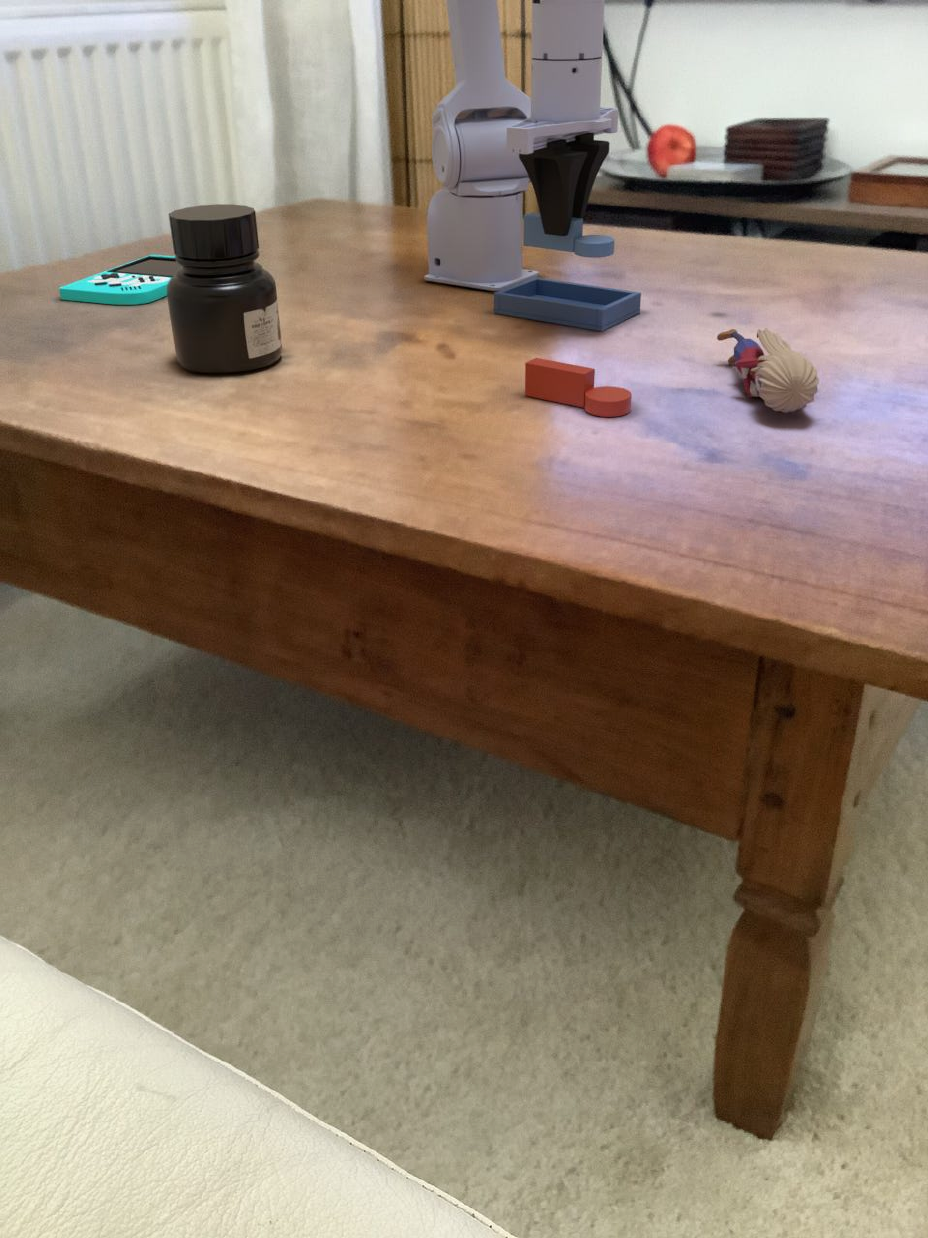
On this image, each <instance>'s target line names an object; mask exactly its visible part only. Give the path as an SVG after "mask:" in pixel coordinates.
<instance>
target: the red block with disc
mask: <svg viewBox="0 0 928 1238" xmlns="http://www.w3.org/2000/svg"><path fill="white" fill-rule="evenodd" d="M595 372H596V369H595V368H593V367H587V366H583V365H577V364H571V363H566V362H561V361H555V360H551V359H545V358H541V357H534V358H531V359H529V360H527V361H525V363H524V396H526V397H530V398H535V399H540V400H545V401H548V402H549V401H550V402H554V403H558V404H564V405H568V406H573V407H578V408H583V409H584V411H585V412H586V413H588V414H589V415H593V416H596V417H603V418H615V417H621V416H624V415H627V414H629V413H630V412H631V410H632V395H633V394H632V392H631V391H630V390H628V389H627V388H623V387H619V386H612V385H611V386H608V385H605V386H603V385H602V386H595V378H596V377H595V375H596V374H595Z"/></svg>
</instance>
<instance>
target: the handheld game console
mask: <svg viewBox="0 0 928 1238" xmlns="http://www.w3.org/2000/svg"><path fill="white" fill-rule="evenodd" d="M180 267H182V265H180V264H178V263H177V262H176V260H175V255H161V254H149V255H146V256H143V257H140V258H138V259H135V260H132V261H130V262H127V263H124V264H121V265H118V266H115V267H112V268H110V269H107V270H104V271H102V272H101V271H100V272H99V273H95V274H94V275H90V276H87V277H84V278H82V279H80V280H77V281H74V282H71V283H68V284H66V285H65V284H64V285H62V286H60V287H59V288H58V291H59V296H60V299H61V300H64V301H72V302H82V303H92V304H93V303H94V304H103V305H114V306H115V305H116V306H125V305H126V306H133V305H135V306H137V305H143V304H144V305H145V304H149V303H153V302H155V301H157V300H161V299H162V298H164V297H167V285H168V282H169V281H170V279H171V278H172V277H173V276H175V275H176V271H177V270H178V269H179V268H180Z"/></svg>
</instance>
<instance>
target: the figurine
mask: <svg viewBox="0 0 928 1238" xmlns="http://www.w3.org/2000/svg"><path fill="white" fill-rule="evenodd" d="M756 338H757V339H758V340H759V342H760V344H761V346H762V347H763V348H764V350H765V351H766V352H767V354H765V353H764V350H763V349H762V348H761V346H760V345H759V343H757V342H756V341H755V340H753V339H751V338H745V337H744V336H743V335H742V334H740V333H739V332H738V330H737V329H735V328H731V329H729V330H726V331H722V332H720V333H718V334H717V336H716V339H717V341H718V342H721V341H725V340H728V339H735V340H736V341H737V343H736V344H735V345H734V347H733V355H731V356H730V357H729V358H728V359H727V363H728V364H730V365H734V364H735V367H736V369H737V371H738V372H739V373H740V375H741V377H742V381H743V385H744V389H745V393H746V395H747V397H748V398H761V399H762V400H763V403H764V404H765V406H766V407H769V408H771V409H772V410H773V411H775V412H781V413H784V414H787V413H789V412H791V413H793V412H796V411H797V410H801V409H802V408H803V409H804V408H806V407H807V404H810V403H813V402H814V401H815V395H816V394H817V393H818V392H819V390H818V385H819V383H820V379H819V378H818V370H817V369H816V368H815V366H813V363H812V361H811V360H810V359H809V358H807V357H804V356H803V355H802V354H801V353H799V352H796V351H794V350H792V348H791V344H790V343H788V342H787V341H785V340H784V339H783V338H782V336H780V334H779V333H778V332H772V331H771V330H769V329H768V328H764V329H763V330H762V329H761V328H758V330H757V333H756Z"/></svg>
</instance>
